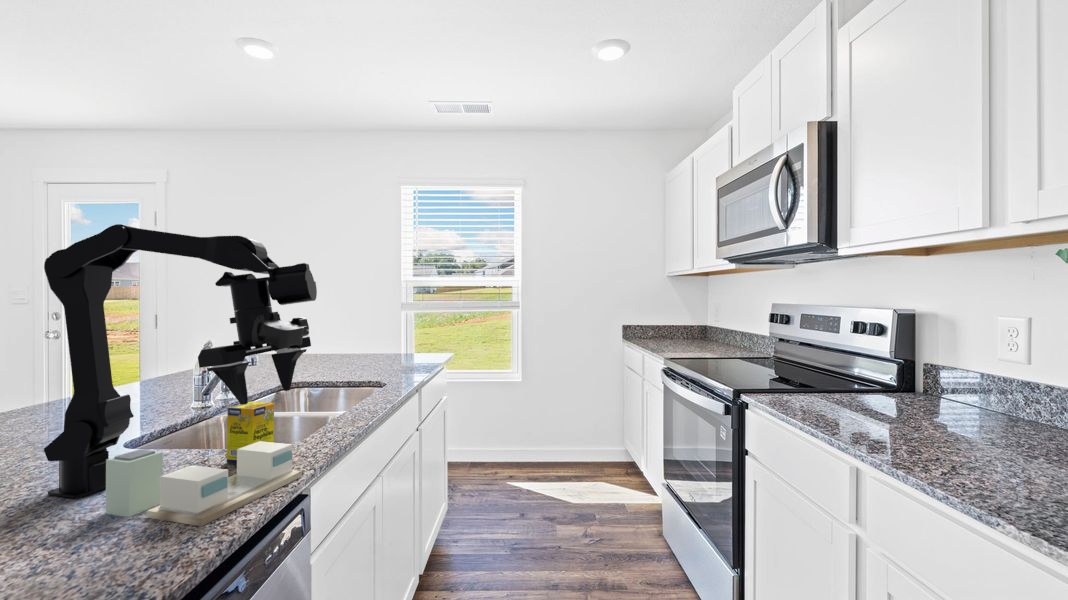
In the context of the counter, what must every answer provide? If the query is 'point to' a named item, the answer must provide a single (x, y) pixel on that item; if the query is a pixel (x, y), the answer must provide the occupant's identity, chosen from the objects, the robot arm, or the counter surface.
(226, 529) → the counter surface
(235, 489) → the grey flat piece
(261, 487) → the mounting panel
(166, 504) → the mounted modules
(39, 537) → the counter surface
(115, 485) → the loose module
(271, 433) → the supplement box
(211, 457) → the counter surface
